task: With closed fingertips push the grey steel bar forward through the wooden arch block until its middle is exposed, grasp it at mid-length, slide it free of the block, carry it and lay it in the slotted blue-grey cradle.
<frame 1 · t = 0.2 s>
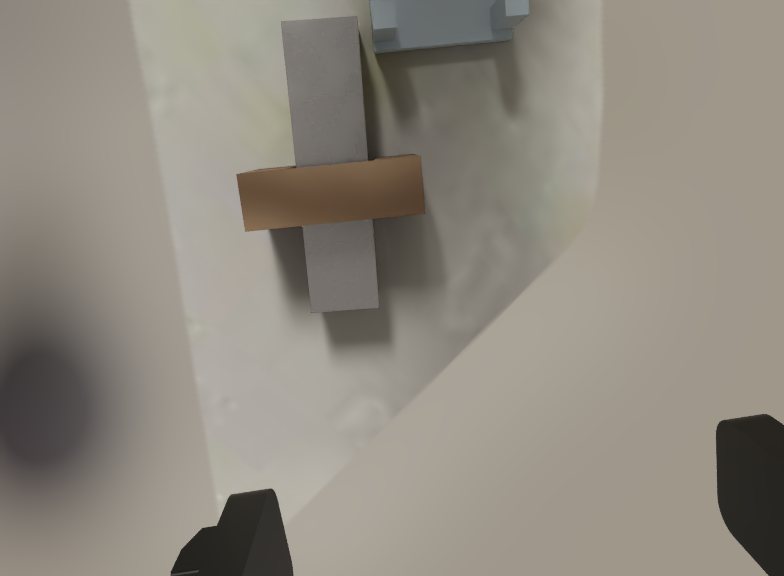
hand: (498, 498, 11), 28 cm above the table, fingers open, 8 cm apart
wooden arch block: (338, 186, 37), on the table
steel bar: (337, 169, 38), on the table
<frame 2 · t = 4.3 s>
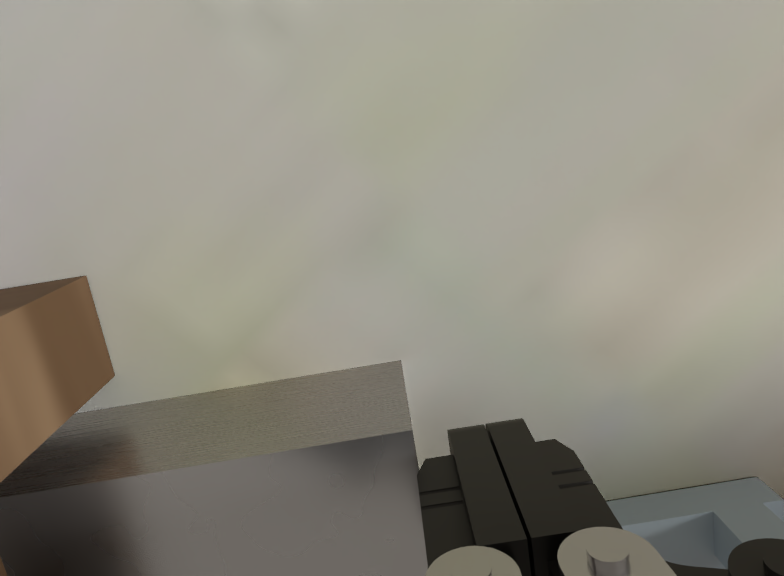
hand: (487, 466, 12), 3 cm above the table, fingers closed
wooden arch block: (79, 477, 14), on the table
steel bar: (95, 481, 15), on the table, touching gripper
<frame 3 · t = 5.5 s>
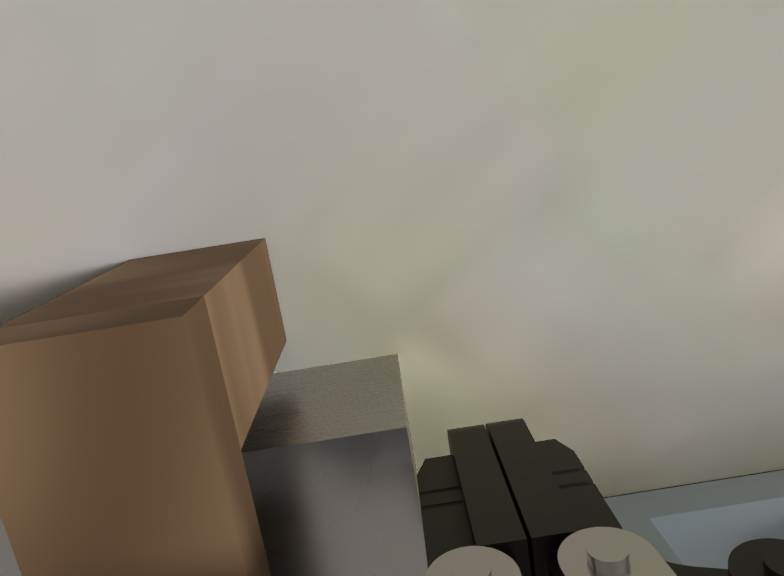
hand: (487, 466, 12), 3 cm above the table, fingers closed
wooden arch block: (244, 444, 14), on the table
steel bar: (88, 476, 15), on the table, touching gripper
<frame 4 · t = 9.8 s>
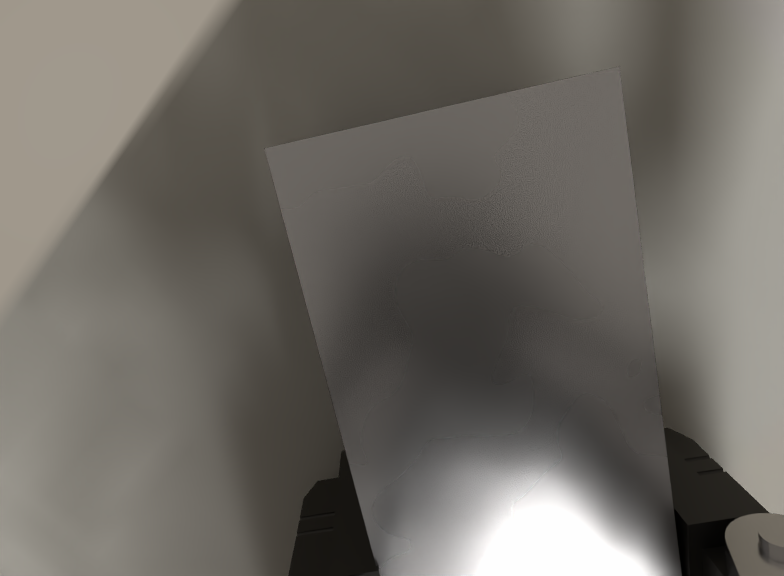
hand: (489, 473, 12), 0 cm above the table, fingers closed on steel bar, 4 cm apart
steel bar: (497, 511, 12), on the table, touching gripper
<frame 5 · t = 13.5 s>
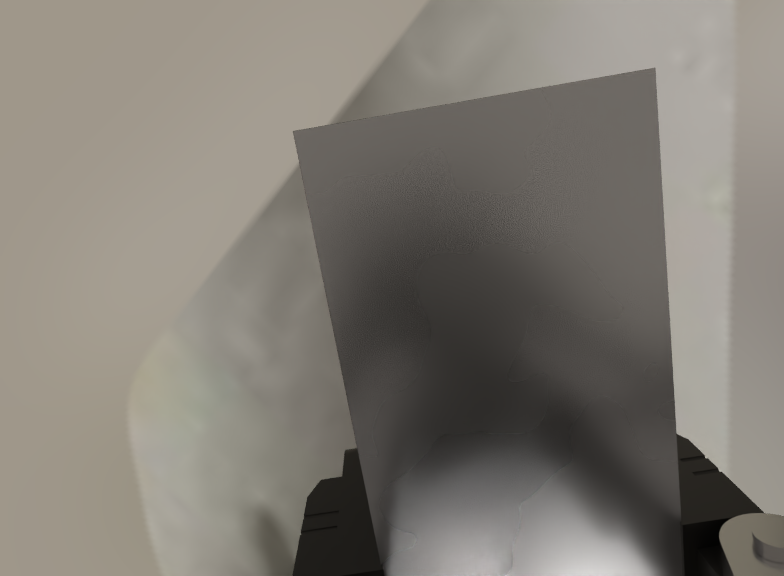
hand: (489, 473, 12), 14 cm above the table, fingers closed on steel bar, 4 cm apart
steel bar: (494, 512, 12), point 14 cm above the table, touching gripper
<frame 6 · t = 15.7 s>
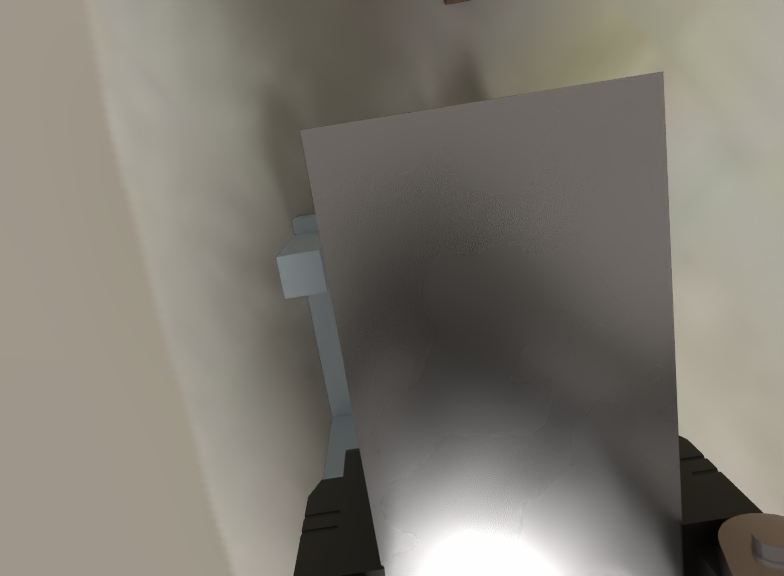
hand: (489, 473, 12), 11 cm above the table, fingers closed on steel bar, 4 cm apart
steel bar: (493, 513, 12), point 10 cm above the table, touching gripper
cradle: (426, 319, 22), on the table
when the fingers open (3 cm above the table, at t = 17.4 s): steel bar drops 1 cm, resting on cradle.
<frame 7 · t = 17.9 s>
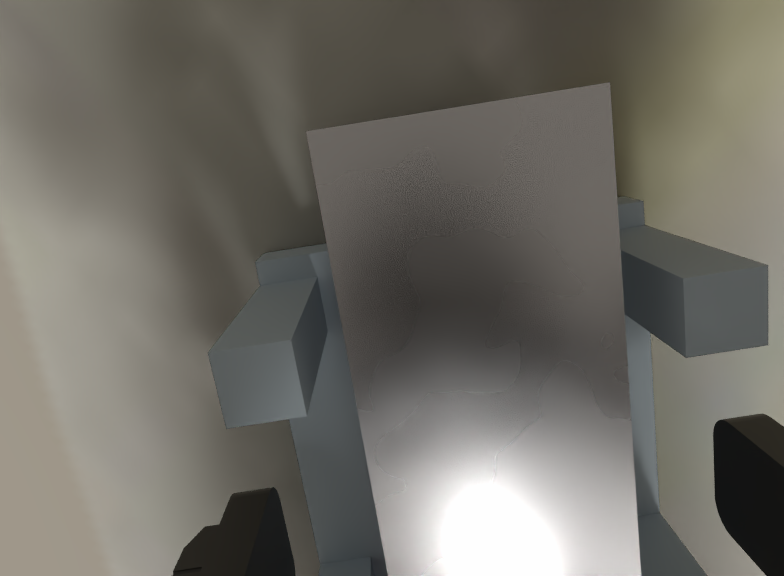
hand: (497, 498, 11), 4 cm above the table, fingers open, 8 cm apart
steel bar: (479, 479, 14), point 1 cm above the table, touching cradle
cradle: (468, 410, 14), on the table
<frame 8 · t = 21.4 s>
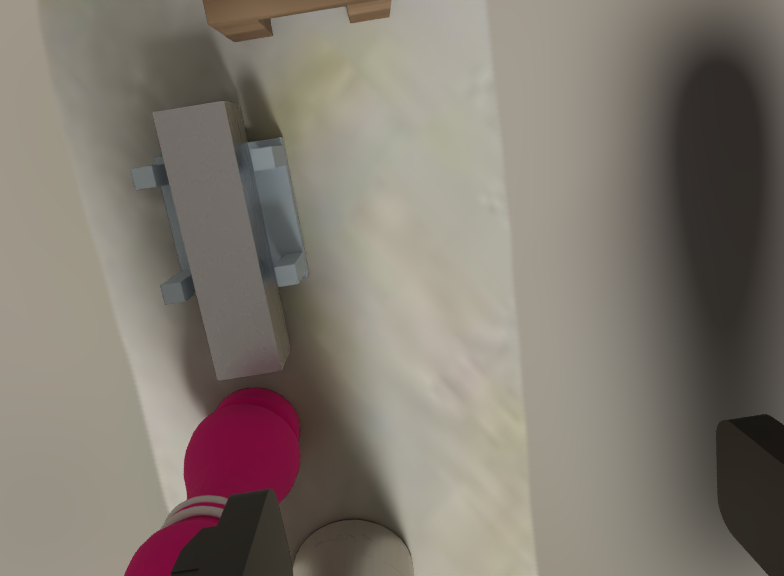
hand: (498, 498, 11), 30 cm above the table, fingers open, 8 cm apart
wooden arch block: (307, 3, 36), on the table
steel bar: (235, 237, 39), point 1 cm above the table, touching cradle
pepper mill: (257, 426, 43), on the table
cradle: (236, 216, 39), on the table
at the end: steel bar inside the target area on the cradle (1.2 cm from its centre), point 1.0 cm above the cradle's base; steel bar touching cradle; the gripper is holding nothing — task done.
